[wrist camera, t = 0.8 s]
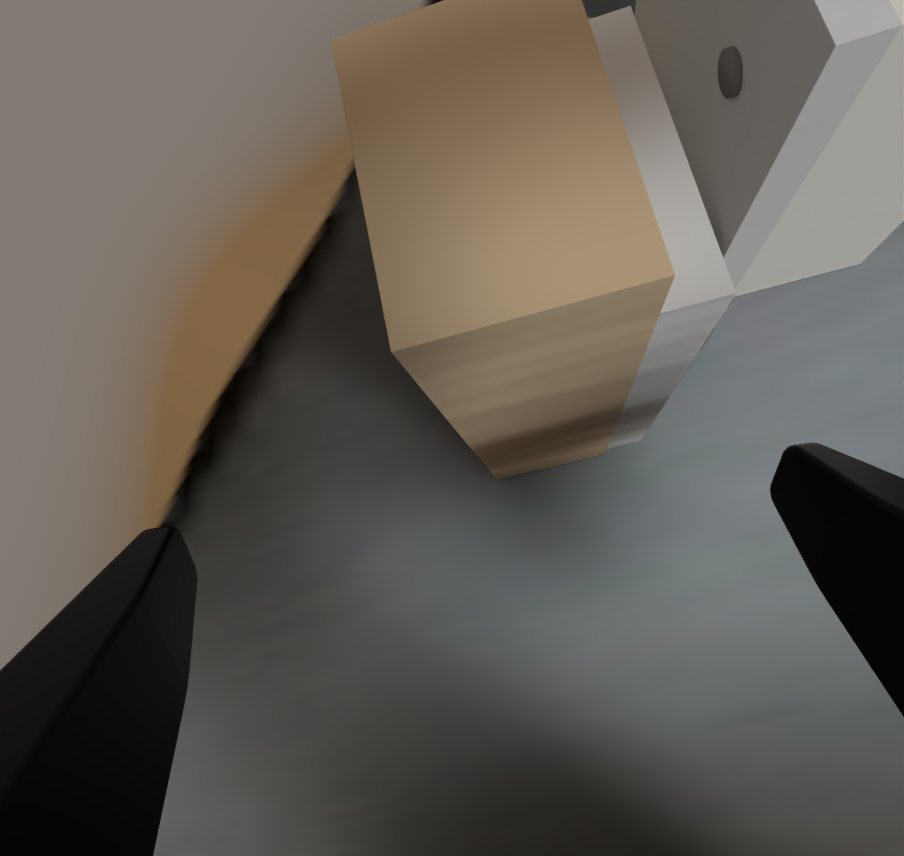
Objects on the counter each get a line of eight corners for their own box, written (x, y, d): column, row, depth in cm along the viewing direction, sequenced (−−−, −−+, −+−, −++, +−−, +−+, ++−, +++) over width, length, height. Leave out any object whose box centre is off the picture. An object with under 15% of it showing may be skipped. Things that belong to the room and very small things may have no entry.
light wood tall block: (725, 425, 18) (1018, 181, 6) (496, 479, 19) (390, 351, 7) (676, 281, 19) (847, -141, 8) (464, 338, 20) (330, 39, 9)
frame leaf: (866, 277, 18) (1206, -39, 9) (579, 352, 19) (595, 147, 10) (767, 48, 20) (946, -404, 11) (515, 127, 22) (478, -219, 12)
